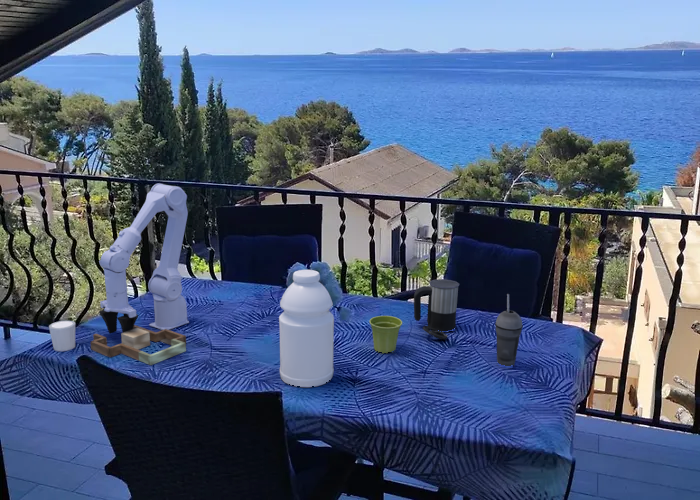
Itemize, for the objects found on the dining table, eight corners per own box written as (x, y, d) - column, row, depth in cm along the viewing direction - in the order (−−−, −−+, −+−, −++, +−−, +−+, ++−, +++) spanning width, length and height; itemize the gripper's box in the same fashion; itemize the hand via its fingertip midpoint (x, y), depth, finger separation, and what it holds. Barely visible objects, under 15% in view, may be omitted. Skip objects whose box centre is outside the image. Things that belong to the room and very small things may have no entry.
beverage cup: (504, 372, 166) (510, 301, 161) (486, 362, 172) (491, 293, 167) (525, 367, 169) (531, 297, 164) (506, 357, 175) (512, 289, 171)
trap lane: (138, 327, 194) (138, 319, 194) (195, 347, 180) (195, 339, 179) (82, 346, 179) (82, 338, 179) (139, 369, 165) (139, 361, 164)
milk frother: (448, 321, 203) (450, 277, 200) (472, 339, 189) (475, 292, 185) (408, 325, 199) (409, 281, 195) (429, 344, 184) (431, 296, 181)
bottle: (312, 393, 153) (312, 284, 146) (268, 379, 160) (266, 274, 153) (343, 372, 165) (344, 270, 158) (301, 360, 172) (300, 262, 165)
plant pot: (405, 346, 182) (406, 318, 180) (394, 358, 174) (395, 329, 172) (376, 341, 186) (376, 313, 184) (363, 352, 178) (364, 324, 176)
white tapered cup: (67, 353, 175) (65, 329, 173) (46, 350, 176) (43, 327, 174) (82, 343, 181) (80, 321, 179) (61, 341, 182) (59, 319, 181)
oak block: (138, 340, 184) (137, 327, 183) (150, 345, 181) (149, 332, 180) (122, 346, 180) (121, 333, 179) (133, 351, 176) (132, 337, 176)
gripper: (89, 289, 182) (93, 333, 185) (119, 299, 174) (123, 345, 177) (110, 284, 187) (114, 326, 191) (141, 293, 179) (144, 337, 182)
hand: (120, 335), depth 184 cm, fingers open, 7 cm apart
